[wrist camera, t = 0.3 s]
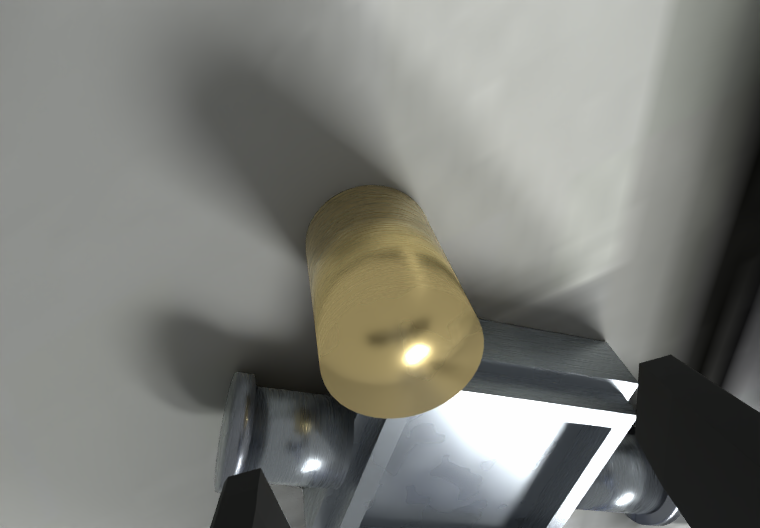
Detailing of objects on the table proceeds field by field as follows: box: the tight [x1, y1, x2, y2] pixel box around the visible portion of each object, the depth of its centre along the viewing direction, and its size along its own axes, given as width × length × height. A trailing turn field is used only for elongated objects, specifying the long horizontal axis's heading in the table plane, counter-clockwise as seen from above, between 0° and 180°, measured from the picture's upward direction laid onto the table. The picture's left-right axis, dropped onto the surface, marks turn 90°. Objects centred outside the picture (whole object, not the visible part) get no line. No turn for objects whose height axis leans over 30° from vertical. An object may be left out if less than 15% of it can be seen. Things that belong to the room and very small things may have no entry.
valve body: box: [215, 319, 681, 528], centre depth 24 cm, size 18×11×4 cm, turn 72°
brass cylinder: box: [306, 185, 484, 419], centre depth 18 cm, size 4×4×6 cm
